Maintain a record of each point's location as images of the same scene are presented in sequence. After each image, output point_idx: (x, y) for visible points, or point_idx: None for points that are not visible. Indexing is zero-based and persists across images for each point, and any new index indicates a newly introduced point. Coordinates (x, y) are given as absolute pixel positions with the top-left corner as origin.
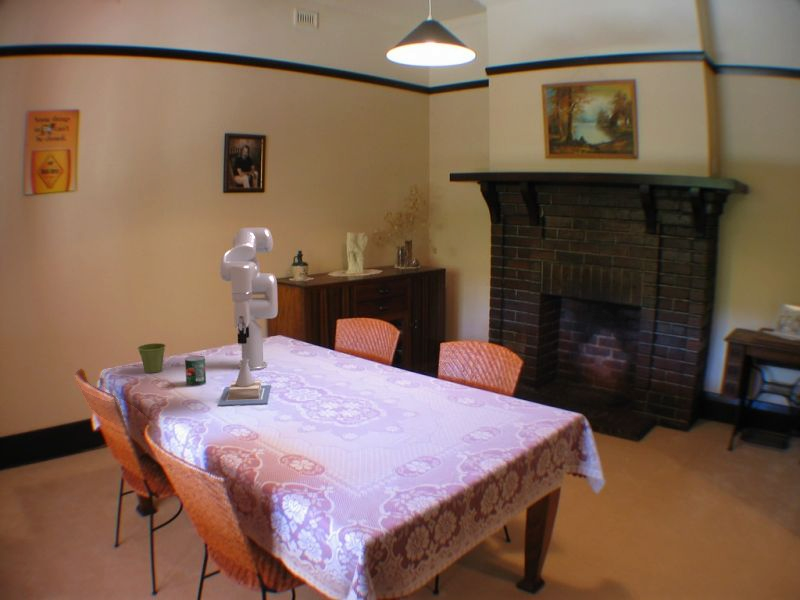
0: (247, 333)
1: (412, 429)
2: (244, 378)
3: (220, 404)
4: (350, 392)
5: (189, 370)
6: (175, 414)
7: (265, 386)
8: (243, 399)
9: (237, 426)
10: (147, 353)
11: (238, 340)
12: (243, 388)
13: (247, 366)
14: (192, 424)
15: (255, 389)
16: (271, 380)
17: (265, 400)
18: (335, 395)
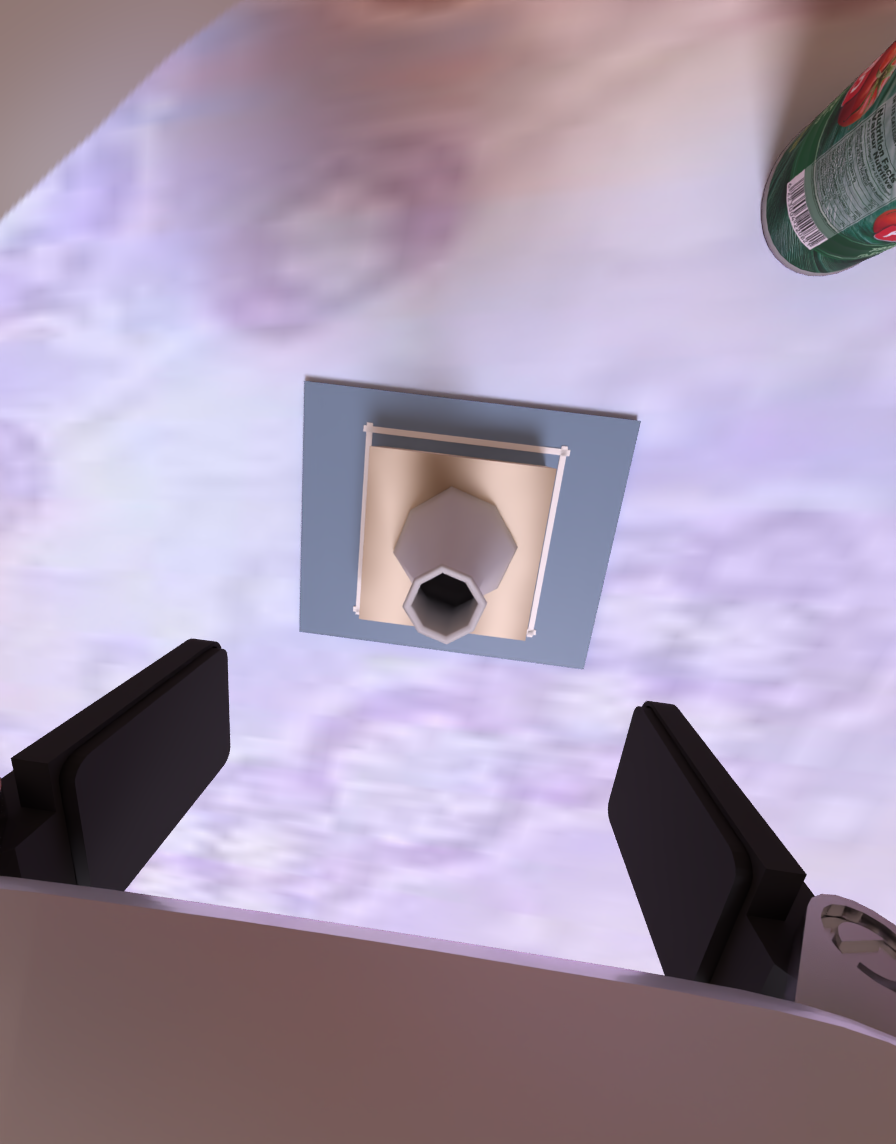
0: (634, 859)
1: None
2: (405, 557)
3: (307, 395)
4: None
5: (894, 46)
6: (197, 111)
7: (570, 642)
8: None
9: (19, 485)
10: None
11: (157, 672)
12: (376, 535)
13: (429, 608)
14: (36, 247)
15: (361, 600)
16: (695, 676)
17: (336, 626)
18: (375, 886)
